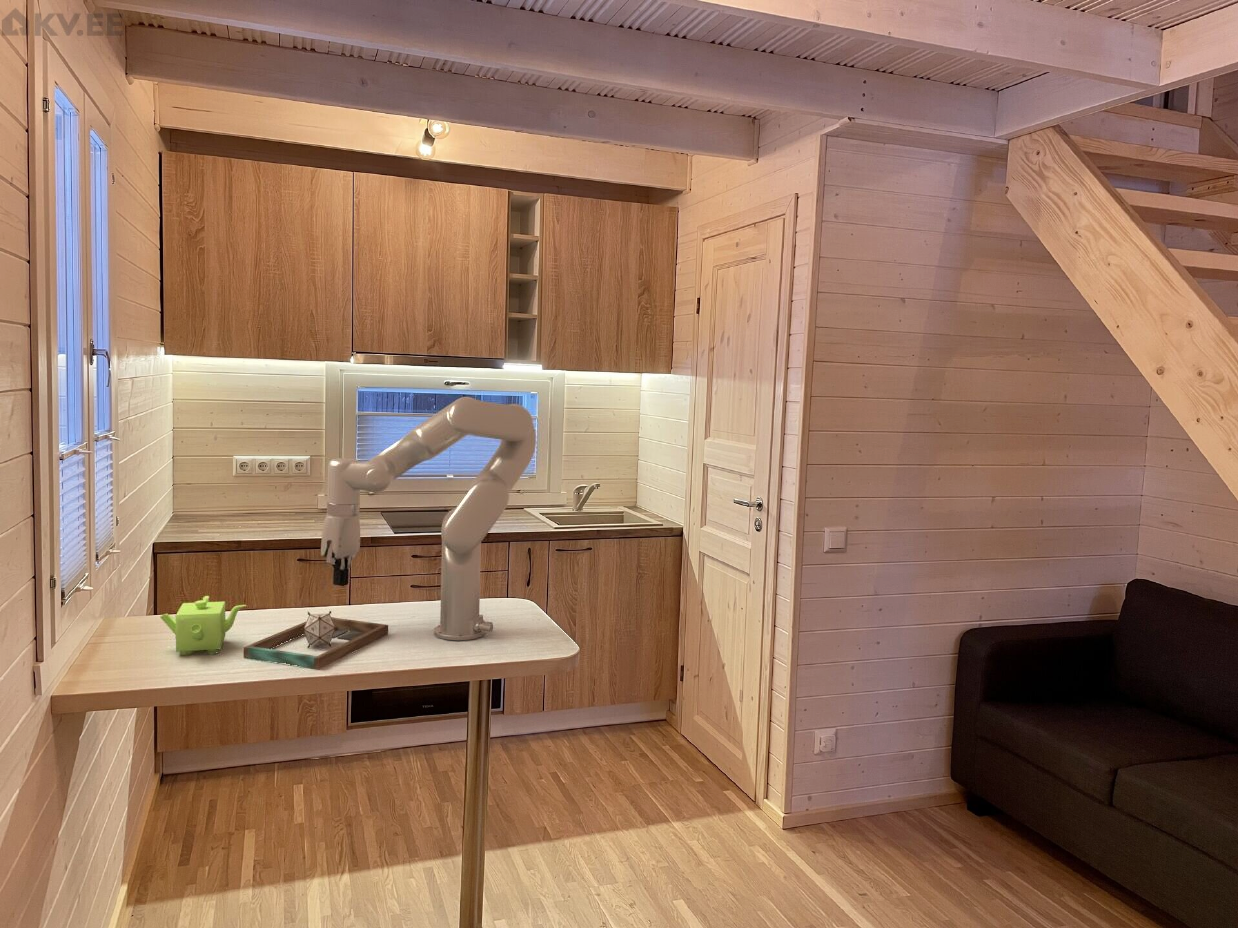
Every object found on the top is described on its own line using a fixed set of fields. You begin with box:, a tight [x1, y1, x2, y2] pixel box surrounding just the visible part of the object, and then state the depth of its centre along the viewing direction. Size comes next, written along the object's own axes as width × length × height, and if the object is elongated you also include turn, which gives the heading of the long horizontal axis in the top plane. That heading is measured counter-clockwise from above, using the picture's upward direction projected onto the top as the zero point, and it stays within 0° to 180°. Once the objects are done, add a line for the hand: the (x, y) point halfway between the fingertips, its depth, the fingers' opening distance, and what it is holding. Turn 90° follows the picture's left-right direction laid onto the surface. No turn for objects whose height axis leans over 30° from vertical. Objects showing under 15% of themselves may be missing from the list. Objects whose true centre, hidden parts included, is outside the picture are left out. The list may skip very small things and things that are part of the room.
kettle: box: [159, 595, 247, 656], centre depth 207 cm, size 15×14×11 cm
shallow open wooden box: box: [243, 616, 389, 670], centre depth 213 cm, size 19×28×2 cm
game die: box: [300, 610, 339, 649], centre depth 212 cm, size 9×8×10 cm
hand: (340, 584), depth 220 cm, fingers closed
